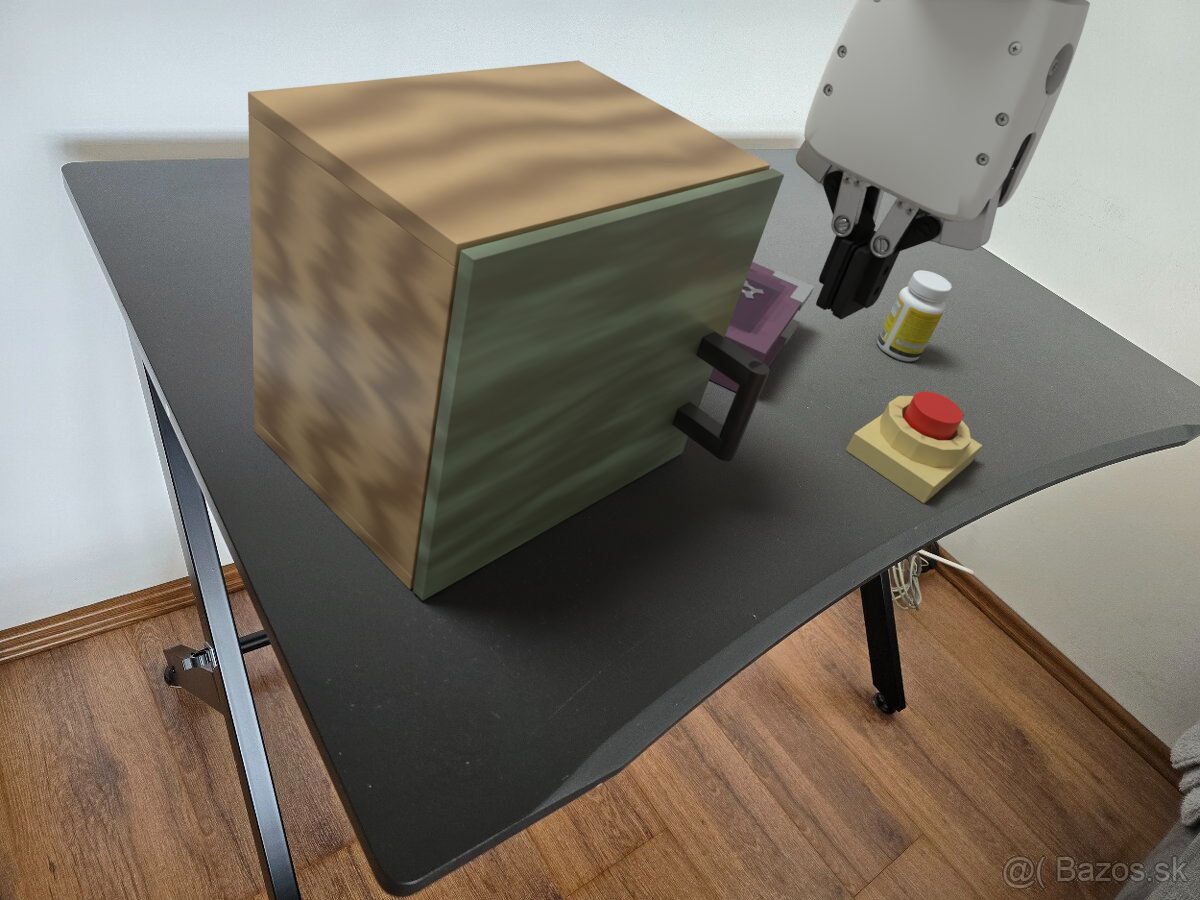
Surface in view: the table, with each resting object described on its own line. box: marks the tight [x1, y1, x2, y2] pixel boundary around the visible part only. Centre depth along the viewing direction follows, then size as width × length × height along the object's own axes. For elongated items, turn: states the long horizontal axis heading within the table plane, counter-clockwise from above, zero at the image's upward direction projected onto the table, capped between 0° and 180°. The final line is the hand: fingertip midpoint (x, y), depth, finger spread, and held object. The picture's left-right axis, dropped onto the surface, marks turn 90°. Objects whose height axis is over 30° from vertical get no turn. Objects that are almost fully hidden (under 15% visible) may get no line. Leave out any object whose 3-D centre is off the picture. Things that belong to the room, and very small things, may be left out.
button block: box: [845, 395, 983, 504], centre depth 80 cm, size 10×8×4 cm
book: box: [709, 261, 815, 393], centre depth 90 cm, size 25×16×5 cm, turn 64°
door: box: [412, 168, 785, 601], centre depth 57 cm, size 6×26×24 cm, turn 137°
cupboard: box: [247, 60, 771, 590], centre depth 62 cm, size 18×26×24 cm
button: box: [904, 390, 964, 440], centre depth 79 cm, size 4×4×2 cm
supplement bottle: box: [876, 269, 953, 362], centre depth 94 cm, size 5×5×8 cm
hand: (840, 306), depth 50 cm, fingers closed
